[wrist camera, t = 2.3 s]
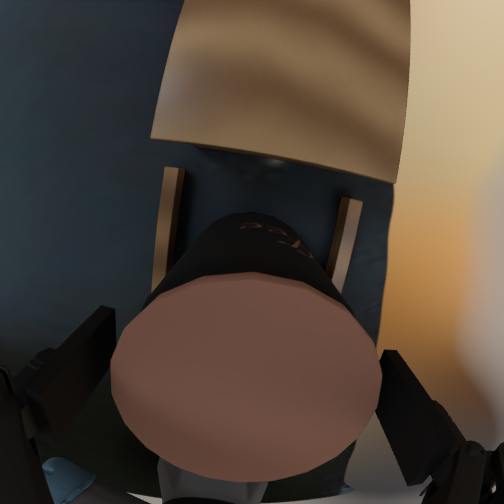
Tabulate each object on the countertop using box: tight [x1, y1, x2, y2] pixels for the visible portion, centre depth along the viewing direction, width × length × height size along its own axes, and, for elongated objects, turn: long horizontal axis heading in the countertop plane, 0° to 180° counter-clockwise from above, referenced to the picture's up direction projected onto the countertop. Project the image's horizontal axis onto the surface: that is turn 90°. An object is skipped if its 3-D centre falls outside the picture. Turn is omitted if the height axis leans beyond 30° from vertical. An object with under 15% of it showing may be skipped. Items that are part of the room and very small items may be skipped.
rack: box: [151, 0, 410, 294], centre depth 20 cm, size 34×16×12 cm, turn 170°
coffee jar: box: [111, 212, 382, 482], centre depth 19 cm, size 11×11×18 cm
